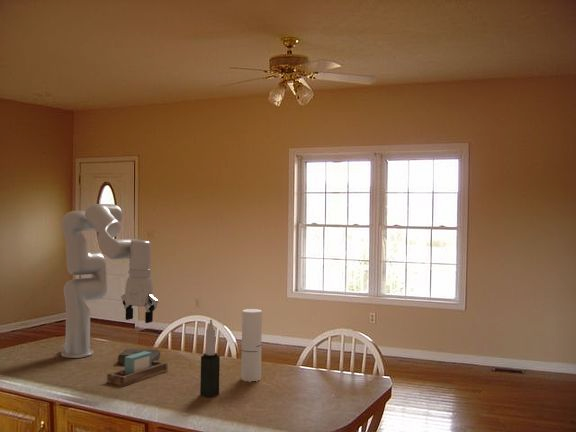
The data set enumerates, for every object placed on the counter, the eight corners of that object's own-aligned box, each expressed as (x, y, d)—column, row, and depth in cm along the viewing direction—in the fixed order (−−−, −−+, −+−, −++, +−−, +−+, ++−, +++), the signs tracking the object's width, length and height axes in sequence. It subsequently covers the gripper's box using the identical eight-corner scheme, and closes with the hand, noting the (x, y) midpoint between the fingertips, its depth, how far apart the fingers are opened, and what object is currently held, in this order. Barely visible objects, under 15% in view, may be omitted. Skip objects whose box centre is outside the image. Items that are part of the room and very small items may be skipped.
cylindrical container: (264, 379, 207) (266, 310, 207) (250, 383, 202) (251, 313, 201) (251, 375, 212) (252, 308, 211) (237, 378, 206) (238, 310, 206)
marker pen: (210, 398, 185) (212, 321, 185) (198, 395, 188) (200, 319, 187) (220, 393, 189) (221, 319, 189) (208, 391, 192) (210, 317, 192)
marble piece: (151, 368, 219) (151, 358, 219) (113, 367, 219) (113, 356, 219) (162, 357, 235) (162, 347, 235) (127, 356, 236) (127, 346, 236)
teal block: (124, 376, 203) (124, 356, 203) (144, 369, 212) (144, 351, 212) (131, 377, 202) (132, 358, 202) (151, 371, 210) (151, 352, 210)
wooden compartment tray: (107, 382, 199) (107, 373, 199) (150, 367, 218) (151, 360, 218) (124, 386, 195) (124, 377, 195) (167, 371, 214) (167, 363, 214)
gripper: (115, 273, 208) (114, 319, 208) (150, 277, 199) (149, 325, 200) (130, 271, 214) (129, 316, 215) (164, 275, 206) (163, 322, 206)
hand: (138, 320), depth 207 cm, fingers open, 9 cm apart
